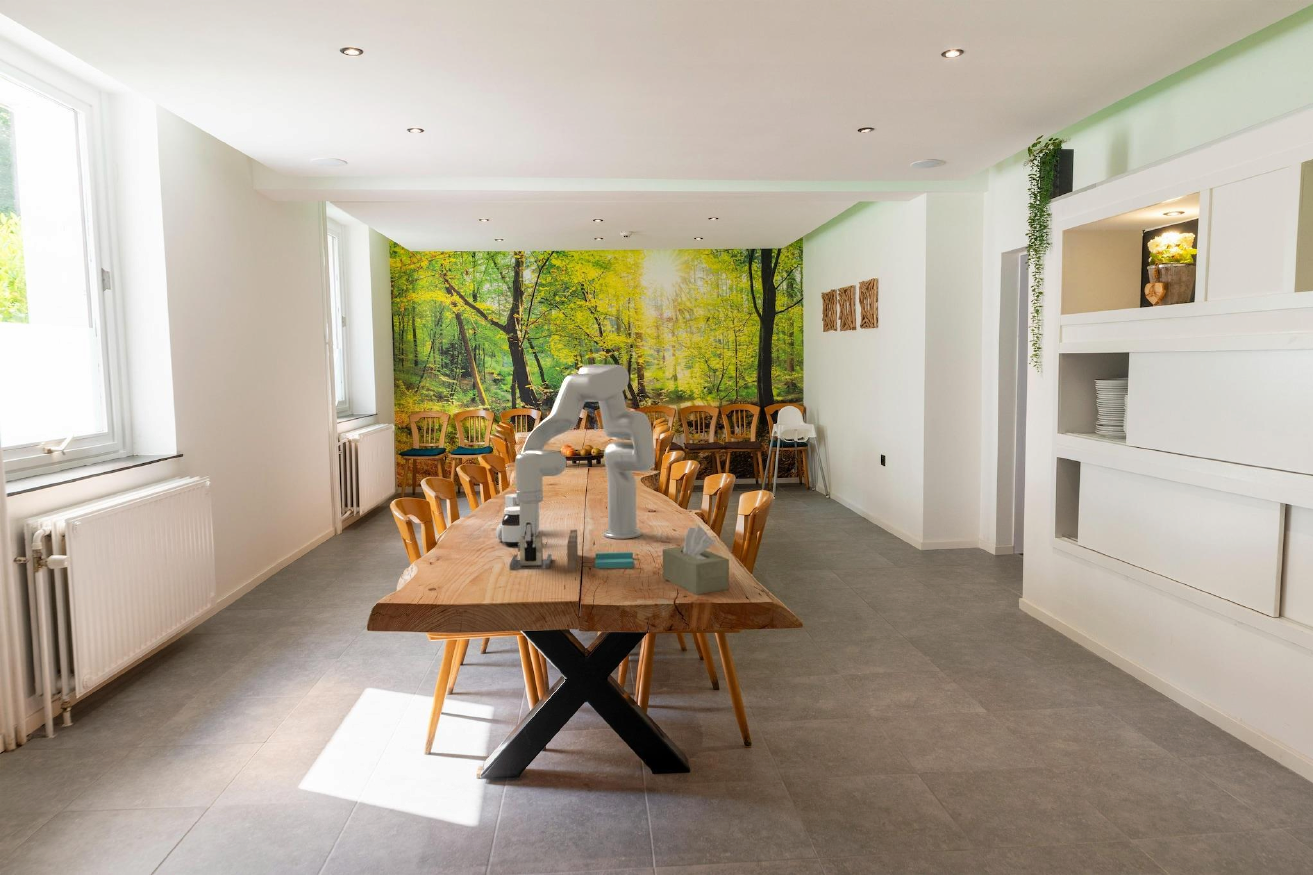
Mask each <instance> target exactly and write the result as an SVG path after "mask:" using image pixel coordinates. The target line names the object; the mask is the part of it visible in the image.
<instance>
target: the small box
mask: <svg viewBox="0 0 1313 875" xmlns="http://www.w3.org/2000/svg"><path fill="white" fill-rule="evenodd" d="M504 502H505V505H504V506H505V508H508V507H520V503H517V500H516V493H511V494H505V495H504ZM505 508H504V509H505Z"/></svg>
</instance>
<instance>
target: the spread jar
mask: <svg viewBox="0 0 1313 875" xmlns="http://www.w3.org/2000/svg"><path fill="white" fill-rule="evenodd" d="M503 511H504V512H503V513H504V515H503V518H502V520H501V523H500V524H499V525H498V526H497V527H496V529H495V534H494V535H495V539H497V540H498V541H499V542H502V543H503V544H504V545H505V546H506V545H508V546H507V547H513V546H515V547H518V543H519V542H520V507H508V508H504V510H503ZM524 535H525V534H524Z"/></svg>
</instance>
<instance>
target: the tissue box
mask: <svg viewBox="0 0 1313 875" xmlns="http://www.w3.org/2000/svg"><path fill="white" fill-rule="evenodd" d="M714 542H715V540H714V539H713V538H711V537H710V536H709V535H708V533H707V532H706V531H705V528H703V527H702V526H700V525H698V524H696V525H695V527H691V526H690V527H688V529H687V531H686V534H685V538H684V543H683V544H684V545H683V546H677V547H676V546H675V547H669V548H663V549H662V578H663V579H665V580H667V581H668V582H671V583H672V584H675V585H676V586H679V587H681V586H682V587H681V588H682V589H685V590H687V591H688V590H689V592H690V593H692V592H693V594H695V595H701V594H710V593H713V592H714V593H715V592H721V591H727V590H729V589H730V559H729V558H727V557H725V556H722V555H719V554H717V553H714V552H712V551H709V550H707V549H709V548H710V547H711V546H713V544H714Z"/></svg>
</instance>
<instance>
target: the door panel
mask: <svg viewBox="0 0 1313 875" xmlns="http://www.w3.org/2000/svg"><path fill="white" fill-rule="evenodd" d="M568 534H569V536H568V540H567V544H566V552H567V553H566V554H567V555H566V556H567V573H576V568H577V563H578V562H577V561H578V557H579V556H578V548H579V547H578V545H579V544H578V529H570V531H569V533H568Z"/></svg>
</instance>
